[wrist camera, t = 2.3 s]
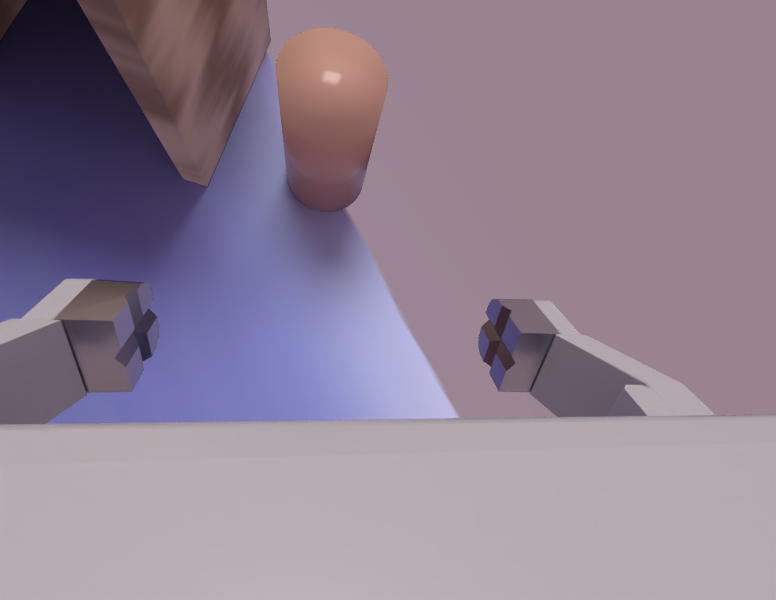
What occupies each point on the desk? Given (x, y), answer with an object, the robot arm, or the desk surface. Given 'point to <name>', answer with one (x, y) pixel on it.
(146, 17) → the wooden shelf
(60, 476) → the robot arm
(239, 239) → the desk surface
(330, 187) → the peach rounded capsule
